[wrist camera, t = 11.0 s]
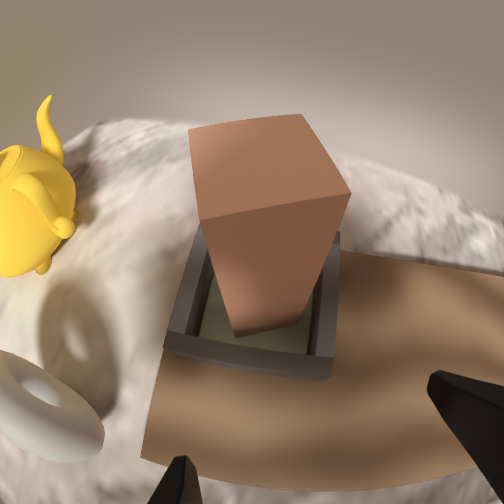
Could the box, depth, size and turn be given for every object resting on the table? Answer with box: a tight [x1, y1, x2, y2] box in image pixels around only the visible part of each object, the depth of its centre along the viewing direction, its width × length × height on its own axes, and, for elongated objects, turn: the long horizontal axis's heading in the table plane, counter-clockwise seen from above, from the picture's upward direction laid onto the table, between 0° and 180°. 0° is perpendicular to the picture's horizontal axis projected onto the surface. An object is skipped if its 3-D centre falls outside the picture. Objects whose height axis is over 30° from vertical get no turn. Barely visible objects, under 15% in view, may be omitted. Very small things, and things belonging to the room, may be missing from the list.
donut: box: [0, 350, 105, 463], centre depth 11 cm, size 10×4×10 cm, turn 69°
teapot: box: [0, 95, 78, 278], centre depth 19 cm, size 20×15×12 cm
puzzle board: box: [140, 224, 504, 491], centre depth 14 cm, size 17×42×4 cm, turn 80°
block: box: [188, 114, 351, 338], centre depth 13 cm, size 4×4×12 cm
